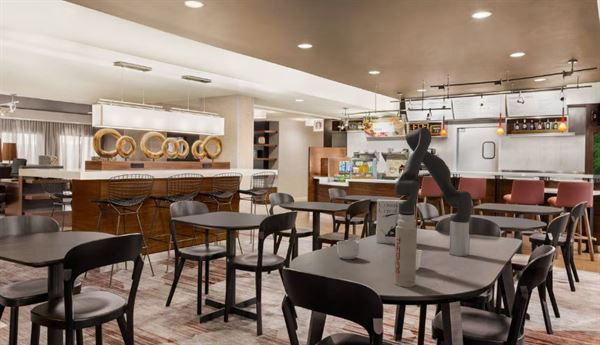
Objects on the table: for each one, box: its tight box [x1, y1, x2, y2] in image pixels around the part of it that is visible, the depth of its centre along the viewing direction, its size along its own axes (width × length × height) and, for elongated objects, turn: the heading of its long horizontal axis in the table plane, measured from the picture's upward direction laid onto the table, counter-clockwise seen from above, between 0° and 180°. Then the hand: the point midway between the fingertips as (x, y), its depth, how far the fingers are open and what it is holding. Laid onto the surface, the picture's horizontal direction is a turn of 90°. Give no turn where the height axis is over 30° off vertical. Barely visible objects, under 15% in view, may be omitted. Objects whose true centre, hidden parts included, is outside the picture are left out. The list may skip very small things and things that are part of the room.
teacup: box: [336, 239, 360, 260], centre depth 223 cm, size 14×11×8 cm
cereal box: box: [375, 199, 416, 245], centre depth 268 cm, size 22×8×25 cm, turn 81°
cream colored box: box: [416, 248, 423, 271], centre depth 204 cm, size 7×7×8 cm
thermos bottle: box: [393, 212, 418, 288], centre depth 176 cm, size 8×8×28 cm
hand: (405, 260), depth 206 cm, fingers open, 8 cm apart
